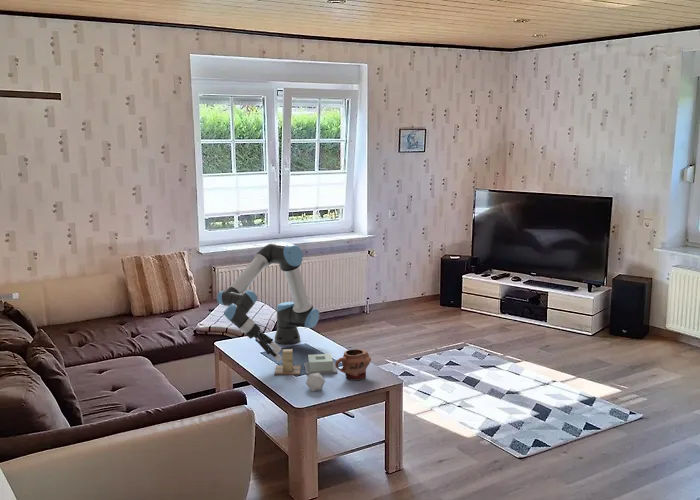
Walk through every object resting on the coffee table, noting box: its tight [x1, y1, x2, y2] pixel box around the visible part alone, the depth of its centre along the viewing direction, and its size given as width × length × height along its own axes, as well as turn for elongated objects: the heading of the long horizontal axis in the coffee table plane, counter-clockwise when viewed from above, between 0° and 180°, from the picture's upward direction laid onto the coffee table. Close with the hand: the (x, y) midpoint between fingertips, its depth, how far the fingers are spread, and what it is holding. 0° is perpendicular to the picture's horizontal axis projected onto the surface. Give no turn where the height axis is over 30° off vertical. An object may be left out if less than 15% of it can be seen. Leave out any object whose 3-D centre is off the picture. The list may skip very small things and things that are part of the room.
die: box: [305, 373, 326, 392], centre depth 312 cm, size 8×9×10 cm
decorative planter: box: [335, 348, 372, 381], centre depth 326 cm, size 20×12×14 cm, turn 125°
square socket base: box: [303, 353, 338, 376], centre depth 340 cm, size 16×16×6 cm
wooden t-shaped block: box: [273, 348, 302, 376], centre depth 338 cm, size 13×13×11 cm
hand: (280, 355), depth 336 cm, fingers open, 13 cm apart
